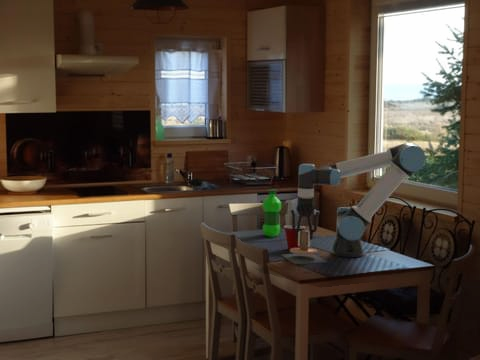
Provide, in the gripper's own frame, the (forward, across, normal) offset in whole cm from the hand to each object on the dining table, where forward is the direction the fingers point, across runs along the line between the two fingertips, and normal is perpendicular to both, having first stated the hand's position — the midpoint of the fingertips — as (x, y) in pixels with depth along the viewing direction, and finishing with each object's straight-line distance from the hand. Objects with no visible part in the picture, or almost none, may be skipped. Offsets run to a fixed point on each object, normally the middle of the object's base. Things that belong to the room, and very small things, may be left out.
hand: (304, 245), depth 365 cm
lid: (+3, 0, 0) cm, 3 cm away
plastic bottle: (+7, +25, -47) cm, 53 cm away
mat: (+6, 0, 0) cm, 6 cm away
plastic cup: (+7, +8, -18) cm, 21 cm away
